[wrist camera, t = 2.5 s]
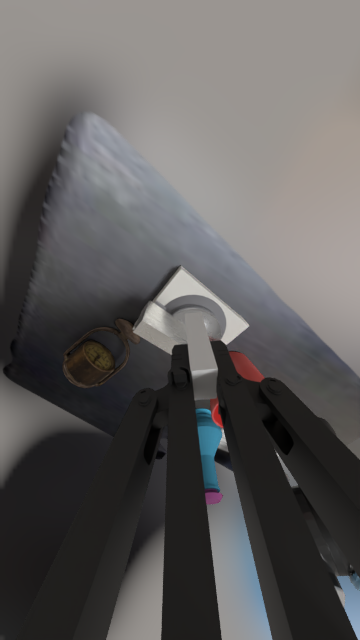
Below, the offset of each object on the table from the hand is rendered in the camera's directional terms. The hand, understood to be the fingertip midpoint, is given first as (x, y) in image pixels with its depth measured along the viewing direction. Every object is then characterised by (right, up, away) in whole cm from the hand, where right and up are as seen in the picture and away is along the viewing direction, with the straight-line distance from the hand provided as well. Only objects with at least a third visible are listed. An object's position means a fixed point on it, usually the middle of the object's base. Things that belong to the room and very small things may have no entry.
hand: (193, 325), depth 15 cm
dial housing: (0, 0, +12) cm, 12 cm away
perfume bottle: (+4, -24, +27) cm, 36 cm away
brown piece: (-14, -4, +14) cm, 20 cm away
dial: (-1, 0, +9) cm, 9 cm away
